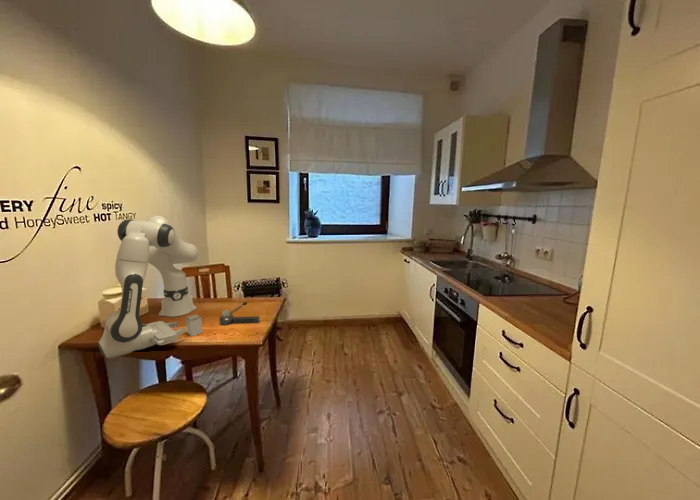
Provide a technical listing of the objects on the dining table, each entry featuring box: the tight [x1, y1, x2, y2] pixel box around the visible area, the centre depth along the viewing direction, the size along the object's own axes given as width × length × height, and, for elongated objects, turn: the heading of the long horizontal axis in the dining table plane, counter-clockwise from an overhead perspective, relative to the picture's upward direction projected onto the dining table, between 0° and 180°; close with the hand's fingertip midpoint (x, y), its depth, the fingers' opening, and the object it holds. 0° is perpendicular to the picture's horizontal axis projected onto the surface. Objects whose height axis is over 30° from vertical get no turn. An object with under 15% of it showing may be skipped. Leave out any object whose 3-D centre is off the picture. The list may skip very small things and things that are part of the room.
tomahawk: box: [230, 301, 248, 315], centre depth 178 cm, size 21×7×1 cm, turn 166°
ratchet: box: [218, 309, 260, 326], centre depth 160 cm, size 20×7×6 cm, turn 93°
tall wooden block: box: [185, 314, 203, 337], centre depth 148 cm, size 5×5×8 cm
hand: (181, 326), depth 144 cm, fingers open, 8 cm apart
